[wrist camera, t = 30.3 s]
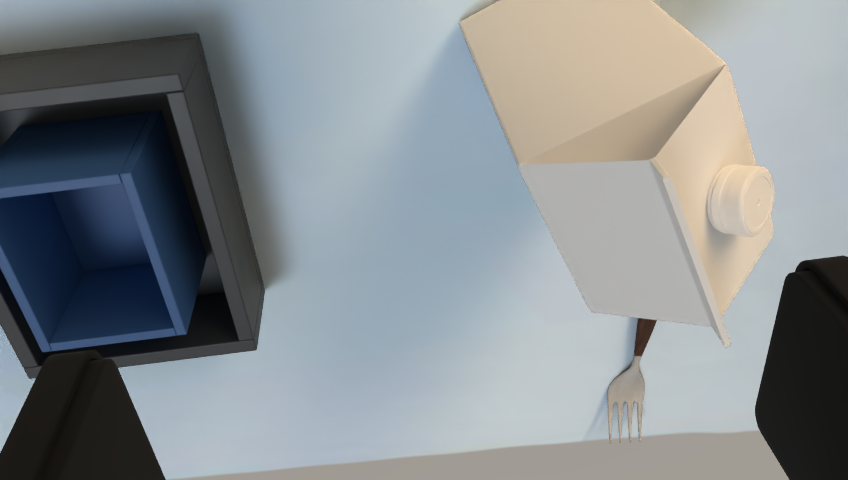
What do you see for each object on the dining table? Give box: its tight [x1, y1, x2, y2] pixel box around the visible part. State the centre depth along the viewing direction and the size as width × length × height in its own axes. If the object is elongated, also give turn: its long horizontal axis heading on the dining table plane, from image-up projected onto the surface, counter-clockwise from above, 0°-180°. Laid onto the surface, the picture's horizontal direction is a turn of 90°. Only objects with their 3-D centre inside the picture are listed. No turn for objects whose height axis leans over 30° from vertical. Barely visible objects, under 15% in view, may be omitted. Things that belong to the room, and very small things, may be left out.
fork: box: [607, 318, 657, 443], centre depth 48 cm, size 3×16×2 cm, turn 178°
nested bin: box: [0, 110, 206, 352], centre depth 36 cm, size 9×7×6 cm
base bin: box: [0, 33, 265, 379], centre depth 38 cm, size 16×12×5 cm
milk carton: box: [459, 0, 774, 348], centre depth 30 cm, size 7×7×19 cm
